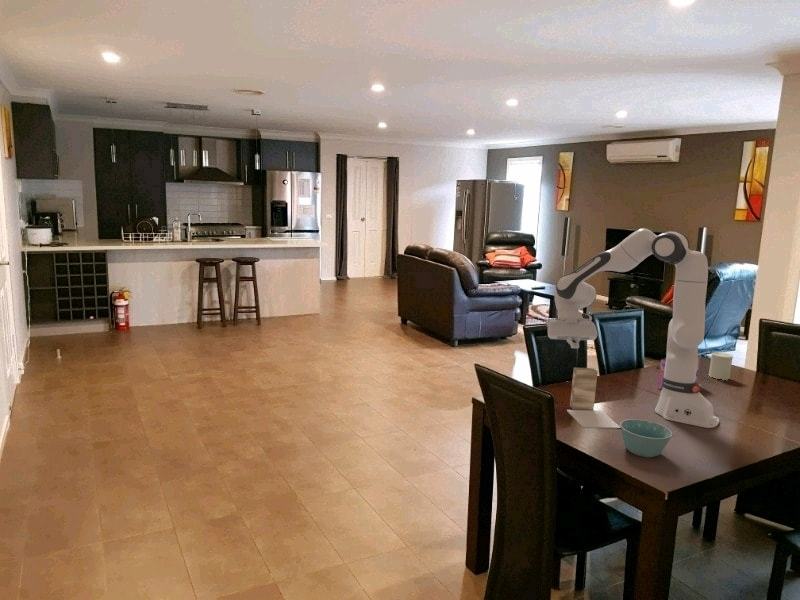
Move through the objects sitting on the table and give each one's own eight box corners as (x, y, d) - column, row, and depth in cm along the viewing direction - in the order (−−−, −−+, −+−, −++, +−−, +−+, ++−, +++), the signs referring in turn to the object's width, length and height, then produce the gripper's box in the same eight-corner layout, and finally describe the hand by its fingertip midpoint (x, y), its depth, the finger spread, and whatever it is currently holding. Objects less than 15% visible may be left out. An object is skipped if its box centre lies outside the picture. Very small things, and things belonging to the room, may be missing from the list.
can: (713, 373, 292) (716, 350, 290) (732, 378, 285) (736, 354, 283) (704, 376, 286) (708, 352, 284) (724, 381, 279) (728, 357, 277)
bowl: (678, 462, 185) (682, 438, 184) (630, 462, 184) (634, 437, 183) (653, 442, 201) (656, 419, 199) (609, 441, 200) (612, 418, 198)
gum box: (681, 380, 278) (685, 352, 275) (698, 384, 272) (702, 356, 269) (656, 388, 263) (660, 359, 260) (674, 393, 257) (678, 363, 254)
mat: (566, 410, 228) (566, 409, 228) (601, 411, 229) (601, 410, 229) (582, 427, 211) (583, 426, 211) (620, 428, 212) (620, 427, 212)
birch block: (569, 406, 233) (573, 367, 230) (589, 407, 233) (593, 368, 231) (573, 410, 229) (577, 370, 226) (593, 410, 229) (597, 371, 227)
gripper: (547, 314, 245) (552, 342, 237) (595, 316, 246) (602, 344, 238) (543, 322, 250) (548, 350, 242) (589, 324, 251) (596, 352, 243)
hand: (575, 347), depth 240 cm, fingers closed
